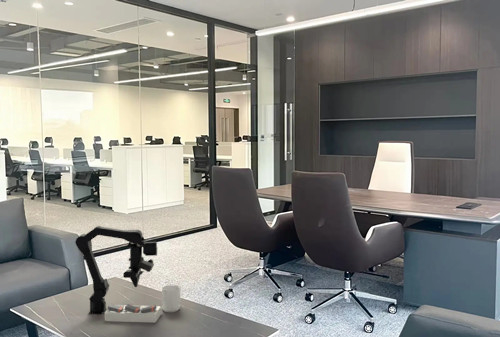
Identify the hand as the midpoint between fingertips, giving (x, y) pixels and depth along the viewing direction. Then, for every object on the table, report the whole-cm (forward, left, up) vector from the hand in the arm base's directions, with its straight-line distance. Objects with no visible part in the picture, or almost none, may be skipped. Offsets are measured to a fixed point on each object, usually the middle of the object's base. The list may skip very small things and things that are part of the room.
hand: (135, 286), depth 213 cm
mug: (+18, +4, -12) cm, 22 cm away
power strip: (+2, -9, -12) cm, 15 cm away
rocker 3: (+10, -11, -7) cm, 17 cm away
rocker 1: (-6, -11, -7) cm, 15 cm away
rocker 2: (+2, -11, -7) cm, 14 cm away
